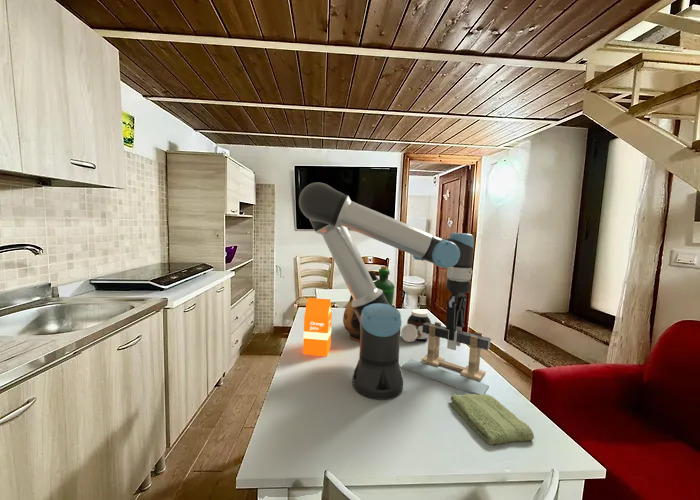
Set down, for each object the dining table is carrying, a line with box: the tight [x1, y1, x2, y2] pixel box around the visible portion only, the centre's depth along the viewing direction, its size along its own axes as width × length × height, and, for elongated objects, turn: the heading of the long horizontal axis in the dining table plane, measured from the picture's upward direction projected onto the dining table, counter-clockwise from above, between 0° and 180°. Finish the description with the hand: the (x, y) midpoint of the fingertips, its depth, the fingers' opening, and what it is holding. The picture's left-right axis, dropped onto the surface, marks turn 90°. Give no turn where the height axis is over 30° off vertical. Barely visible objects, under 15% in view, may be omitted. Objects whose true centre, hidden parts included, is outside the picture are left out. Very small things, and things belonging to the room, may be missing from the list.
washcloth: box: [450, 393, 535, 446], centre depth 77 cm, size 13×18×3 cm
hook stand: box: [420, 321, 487, 382], centre depth 103 cm, size 6×20×14 cm, turn 52°
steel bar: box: [422, 322, 492, 351], centre depth 103 cm, size 3×22×3 cm, turn 52°
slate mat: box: [401, 358, 490, 395], centre depth 97 cm, size 7×26×1 cm, turn 52°
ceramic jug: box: [342, 271, 379, 342], centre depth 127 cm, size 17×15×30 cm
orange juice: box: [302, 297, 333, 357], centre depth 112 cm, size 8×9×20 cm
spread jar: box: [400, 308, 432, 343], centre depth 128 cm, size 12×11×12 cm
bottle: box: [373, 265, 395, 307], centre depth 145 cm, size 11×11×28 cm
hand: (453, 346), depth 103 cm, fingers open, 4 cm apart
